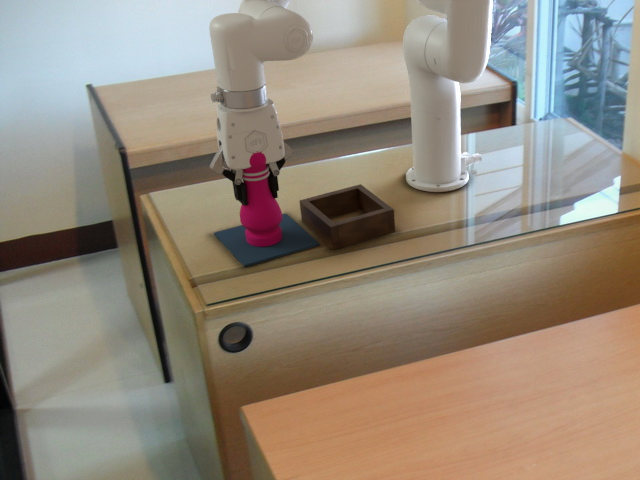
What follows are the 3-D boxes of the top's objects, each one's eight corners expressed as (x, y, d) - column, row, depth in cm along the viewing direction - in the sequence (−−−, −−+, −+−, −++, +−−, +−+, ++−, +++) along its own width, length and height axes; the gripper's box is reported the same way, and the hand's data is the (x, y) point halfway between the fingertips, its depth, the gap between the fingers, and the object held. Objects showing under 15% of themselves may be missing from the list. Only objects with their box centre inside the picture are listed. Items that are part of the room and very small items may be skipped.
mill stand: (362, 205, 179) (360, 184, 177) (395, 231, 171) (394, 209, 168) (301, 222, 173) (299, 200, 171) (332, 250, 165) (330, 227, 162)
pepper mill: (290, 231, 169) (276, 124, 158) (277, 250, 164) (261, 141, 152) (252, 227, 170) (235, 121, 158) (237, 246, 165) (218, 138, 153)
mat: (286, 215, 175) (285, 213, 175) (319, 245, 166) (319, 243, 166) (214, 235, 169) (213, 232, 169) (244, 267, 160) (244, 264, 159)
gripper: (201, 112, 145) (218, 219, 156) (301, 93, 153) (312, 195, 164) (184, 98, 150) (202, 202, 161) (282, 80, 158) (293, 180, 169)
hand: (257, 198), depth 162 cm, fingers closed on pepper mill, 4 cm apart
